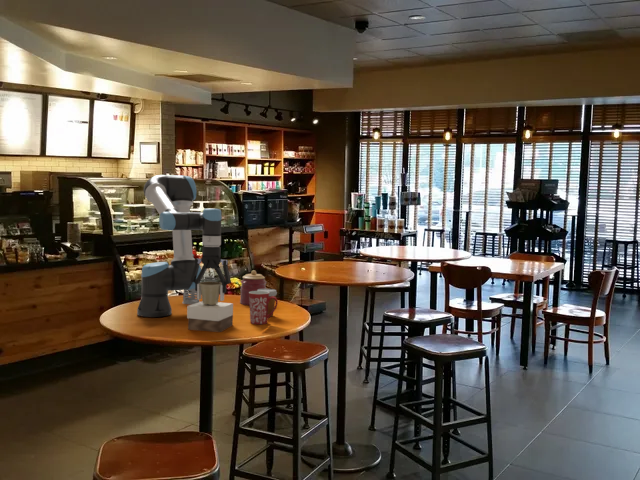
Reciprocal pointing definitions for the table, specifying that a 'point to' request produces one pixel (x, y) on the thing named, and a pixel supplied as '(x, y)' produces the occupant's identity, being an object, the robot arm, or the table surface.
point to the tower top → (210, 311)
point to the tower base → (210, 324)
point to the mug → (260, 306)
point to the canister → (251, 286)
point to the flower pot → (210, 292)
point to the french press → (189, 299)
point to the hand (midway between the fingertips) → (210, 299)
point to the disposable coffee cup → (272, 301)
